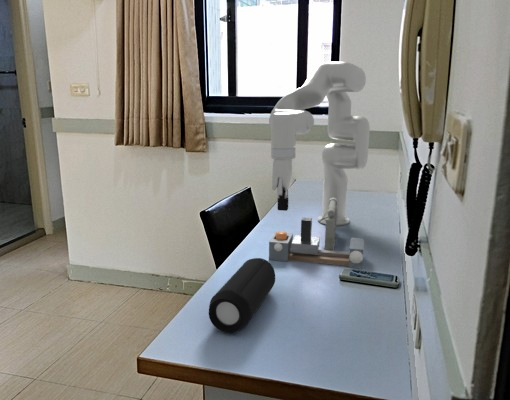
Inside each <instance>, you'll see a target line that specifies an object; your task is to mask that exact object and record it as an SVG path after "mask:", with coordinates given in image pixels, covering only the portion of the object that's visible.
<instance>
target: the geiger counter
mask: <svg viewBox="0 0 510 400" xmlns="http://www.w3.org/2000/svg"><path fill="white" fill-rule="evenodd" d="M327 212H328V213H327ZM327 212H326V213H325V214H324V216H325V215H326V214H327V217H325V218H324V216H323V217H322V218H321V220H320V221H318V222H319V223H320V222H321V221H322V220H324V219H326V224H325V233H324V234H325V235H324V249H323V250H330V251H335V250H334V248H335V245H338V243H335V242H336V240H335V239H336V237H337V235H336V233H337V230H336V229H337V228H338V227H339V226H340V225H338V226H336V217H337V199H336V198H334V197H333V198H330V200H329V206H328V211H327ZM338 217H339V216H338Z"/></svg>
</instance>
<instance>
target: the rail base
mask: <svg viewBox="0 0 510 400" xmlns="http://www.w3.org/2000/svg"><path fill="white" fill-rule="evenodd" d="M349 255H350V251H341V250H340V251H338V250H334V251H330V250H324V249H320V248H319V249H318V252H317V254H307V253H295V252H291V248H290V253H289V255H288V261H293V262H305V263H313V264H325V265H326V264H327V265H337V266H348V267H349Z"/></svg>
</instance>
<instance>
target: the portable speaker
mask: <svg viewBox="0 0 510 400" xmlns="http://www.w3.org/2000/svg"><path fill="white" fill-rule="evenodd" d="M275 283H276V272H275V269H274V266H273V265H272V263H270V261H269V260H267V259H264V258H262V257H261V258H260V257H254V258H250V259H248V260H246V261H245V262H243V264H242V265H241V266H240V267H239V268H238V269H237V270H236V272H235V273H234V274H233V275H232V276H230V278H229V279H228V280H227V281H226V282H225V283H224V285H223V286H222V287H221V288H219V290H218V291H217V292H216V293H215V294H214V295H213V296H212V298H211V299H210V302H209V306H208V319H209V321H210V322H211V324H212V326H213V327H215V328H216V329H217V330H218V331H221V332H223V333H227V334H229V333H235V332H238V331H241V330H243V329H245V327H246V326H247V325H248V324H249V322H250V321H251V320H252V318H253V317H254V315H255V313H256V312H257V311H258V309H259V308H260V307H261V305H262V304H263V302H264V300H265V299H266V298H267V296H268V295H269V294H270V292H271V290H272V289H273V287H275Z"/></svg>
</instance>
